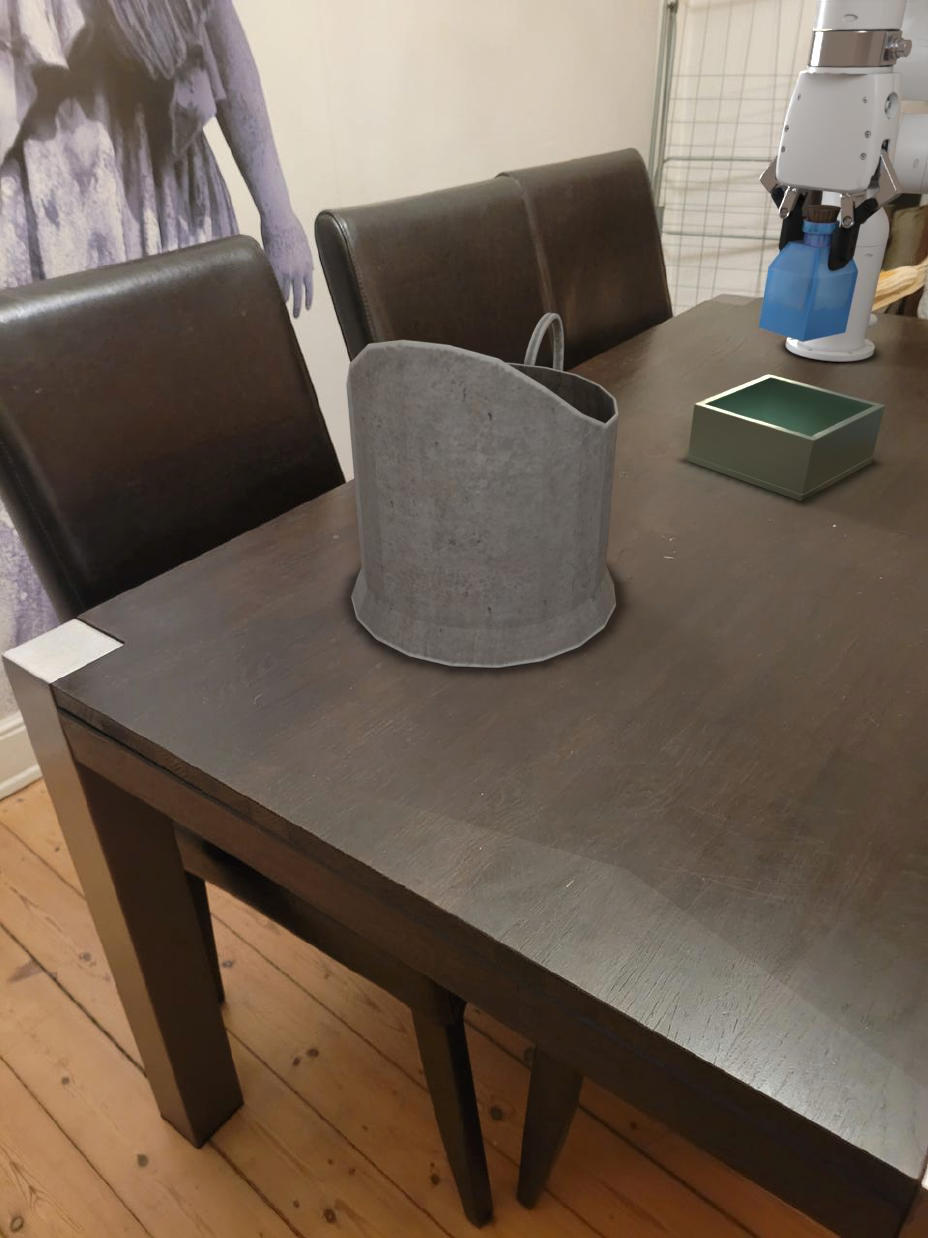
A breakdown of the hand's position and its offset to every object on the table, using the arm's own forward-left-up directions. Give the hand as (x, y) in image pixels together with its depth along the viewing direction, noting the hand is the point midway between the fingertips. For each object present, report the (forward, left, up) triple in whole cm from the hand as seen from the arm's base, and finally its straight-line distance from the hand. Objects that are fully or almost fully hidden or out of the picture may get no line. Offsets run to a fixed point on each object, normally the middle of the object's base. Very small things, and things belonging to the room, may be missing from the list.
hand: (813, 261), depth 94 cm
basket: (0, 0, -22) cm, 22 cm away
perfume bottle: (0, 0, -7) cm, 7 cm away
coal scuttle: (+40, -4, -22) cm, 46 cm away
